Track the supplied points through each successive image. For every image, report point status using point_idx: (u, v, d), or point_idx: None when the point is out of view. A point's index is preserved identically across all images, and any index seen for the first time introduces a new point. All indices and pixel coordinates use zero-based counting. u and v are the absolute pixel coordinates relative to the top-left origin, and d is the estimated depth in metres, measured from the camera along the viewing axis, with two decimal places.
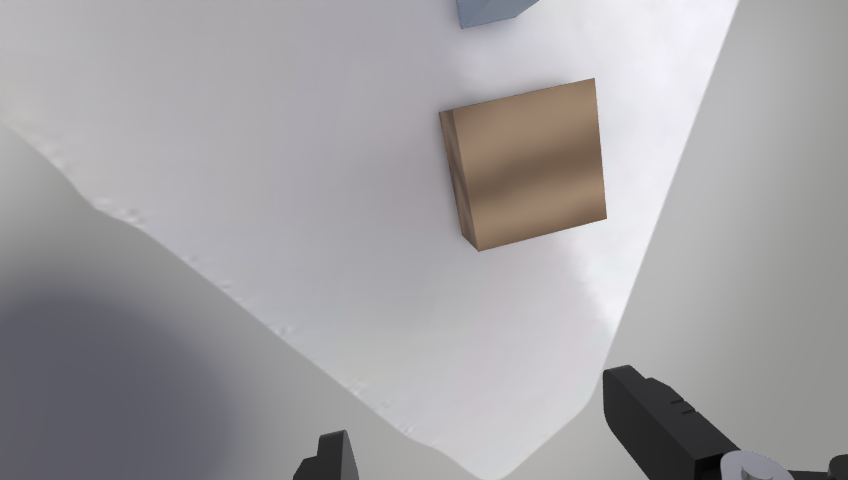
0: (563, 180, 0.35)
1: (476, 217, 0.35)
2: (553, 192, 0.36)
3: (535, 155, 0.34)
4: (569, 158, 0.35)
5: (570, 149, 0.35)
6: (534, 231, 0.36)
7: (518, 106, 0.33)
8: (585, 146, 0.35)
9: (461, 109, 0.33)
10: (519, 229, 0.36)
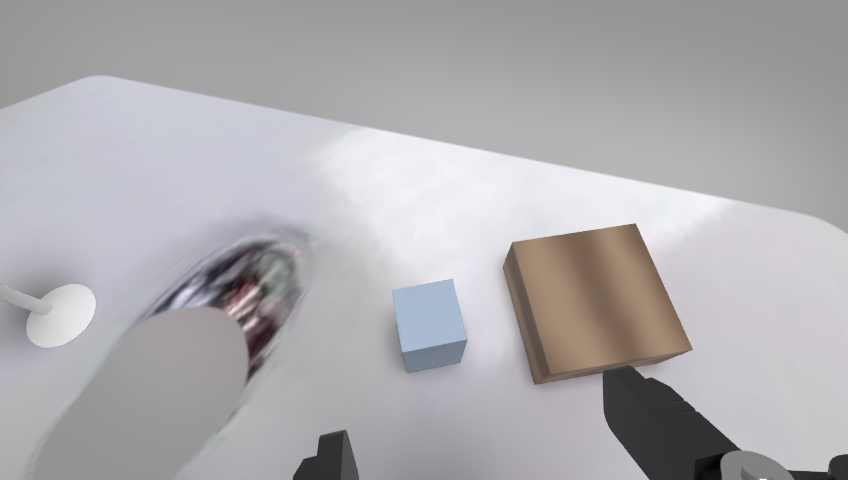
0: (605, 264, 0.37)
1: (656, 351, 0.34)
2: (618, 273, 0.37)
3: (584, 292, 0.36)
4: (583, 260, 0.38)
5: (575, 259, 0.38)
6: (660, 291, 0.36)
7: (542, 309, 0.36)
8: (571, 246, 0.38)
9: (549, 364, 0.33)
10: (660, 306, 0.36)
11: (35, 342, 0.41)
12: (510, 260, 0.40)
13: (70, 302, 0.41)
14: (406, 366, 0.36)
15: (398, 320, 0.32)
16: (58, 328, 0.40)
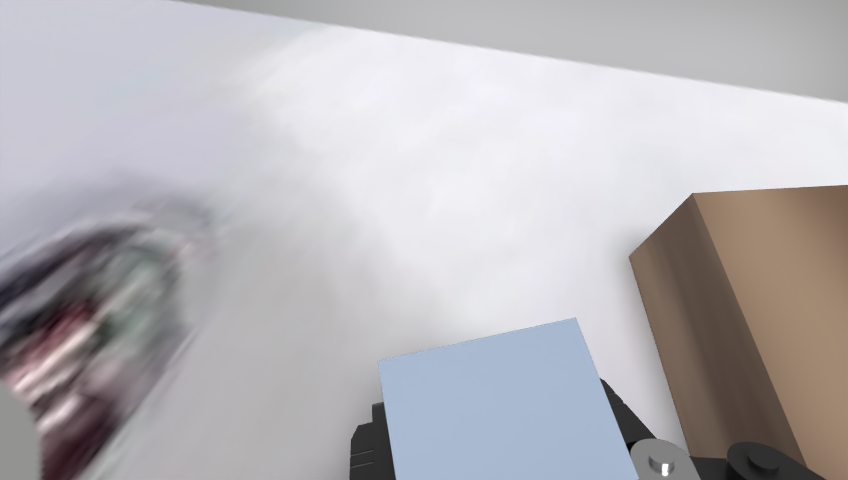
0: None
1: None
2: None
3: None
4: None
5: None
6: None
7: (796, 372, 0.13)
8: (847, 216, 0.15)
9: None
10: None
11: None
12: (669, 239, 0.17)
13: None
14: None
15: (402, 479, 0.09)
16: None
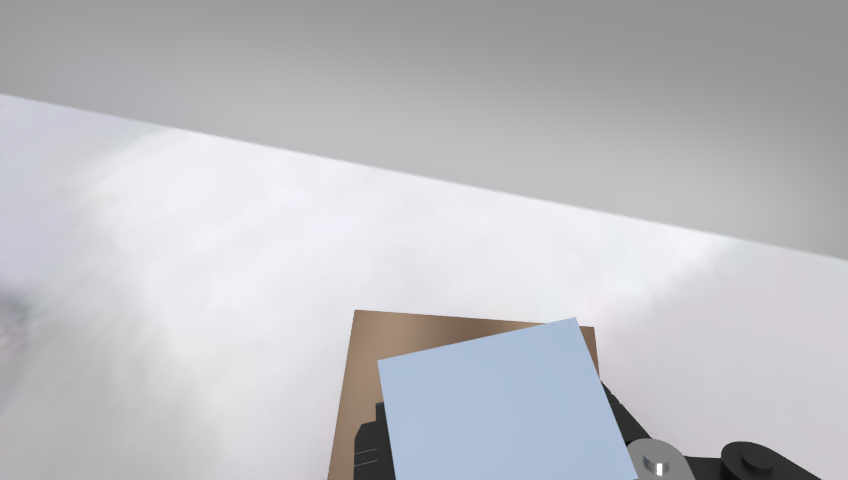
0: None
1: None
2: None
3: None
4: None
5: None
6: None
7: (350, 459, 0.18)
8: None
9: None
10: None
11: None
12: None
13: None
14: None
15: (402, 478, 0.09)
16: None
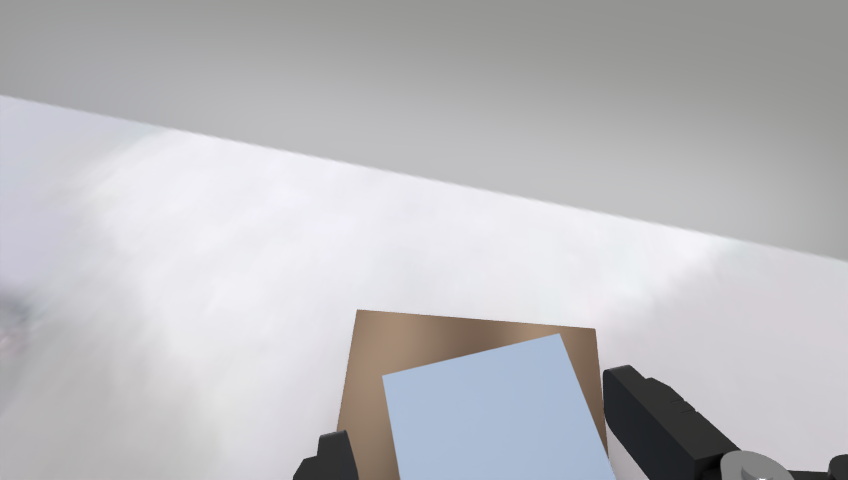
0: None
1: None
2: None
3: None
4: None
5: None
6: None
7: None
8: (459, 344, 0.20)
9: None
10: None
11: None
12: None
13: None
14: None
15: None
16: None
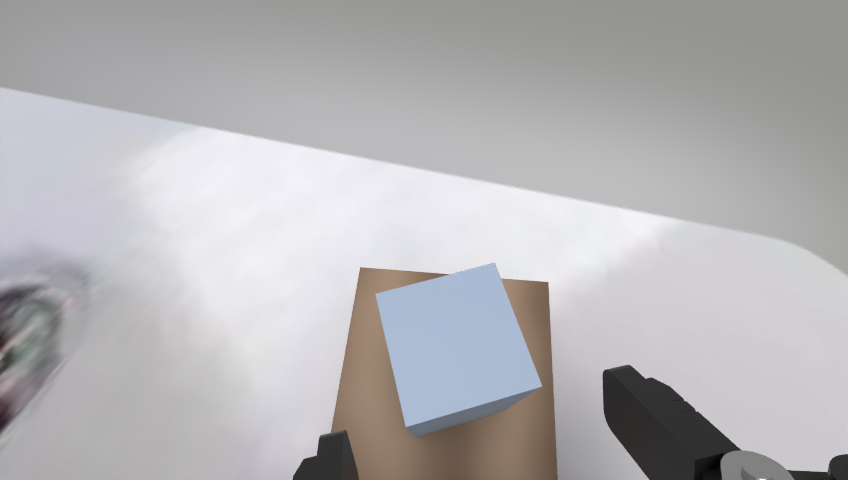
0: None
1: None
2: None
3: None
4: None
5: None
6: (543, 395, 0.23)
7: (356, 375, 0.24)
8: None
9: None
10: (534, 419, 0.22)
11: None
12: None
13: None
14: (413, 434, 0.19)
15: (393, 355, 0.15)
16: None
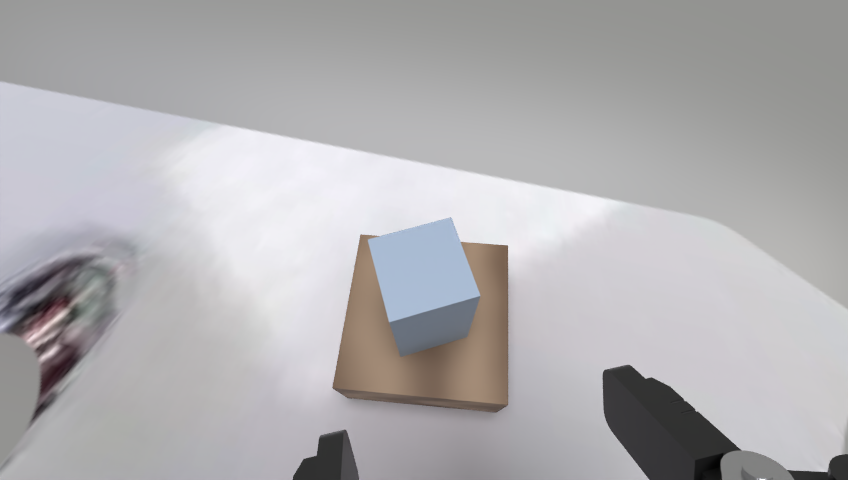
0: None
1: (463, 395, 0.28)
2: None
3: None
4: None
5: None
6: (500, 327, 0.30)
7: (357, 314, 0.31)
8: None
9: (336, 377, 0.29)
10: (492, 345, 0.30)
11: None
12: None
13: None
14: (397, 346, 0.26)
15: (380, 278, 0.22)
16: None
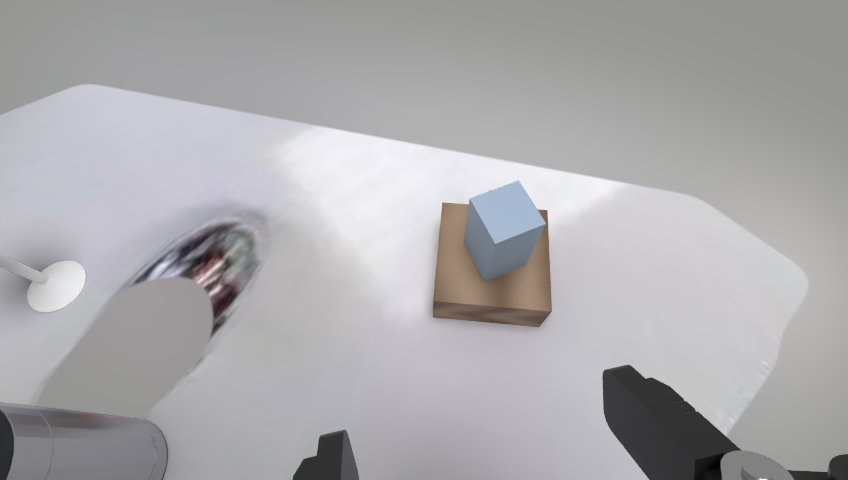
0: None
1: (521, 305, 0.42)
2: None
3: None
4: None
5: None
6: (544, 263, 0.44)
7: (445, 255, 0.45)
8: None
9: (435, 294, 0.43)
10: (539, 274, 0.44)
11: (34, 308, 0.49)
12: None
13: (64, 275, 0.50)
14: (487, 269, 0.40)
15: (483, 220, 0.37)
16: (54, 295, 0.49)
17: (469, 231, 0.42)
